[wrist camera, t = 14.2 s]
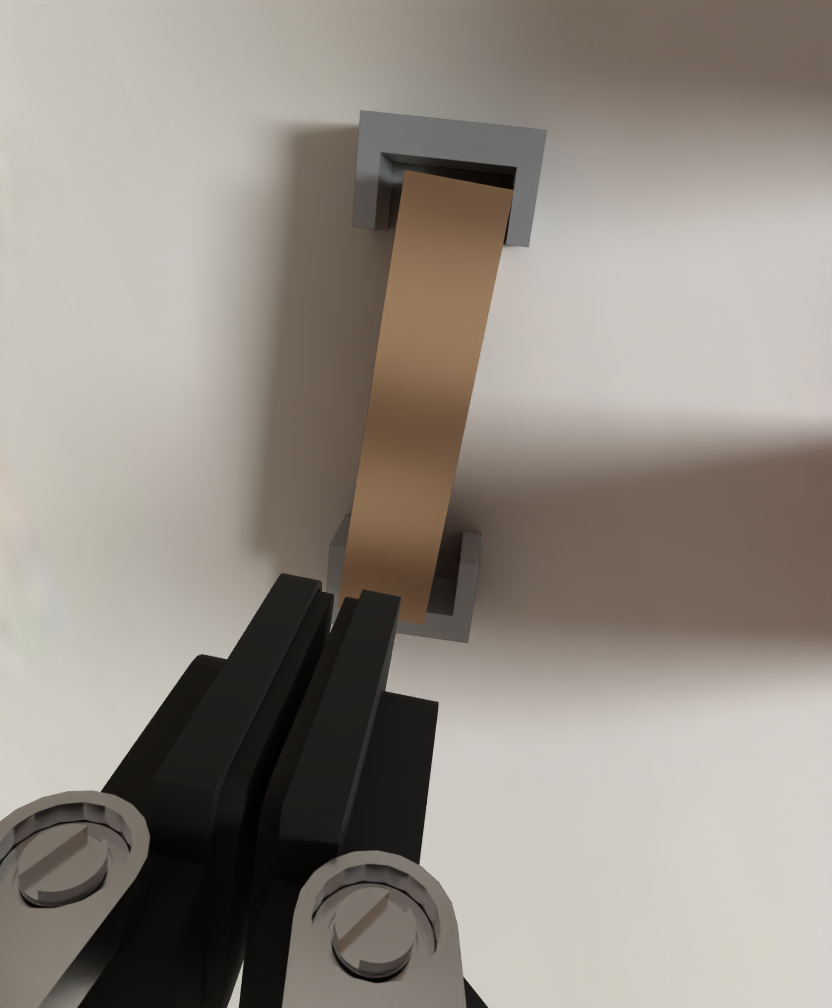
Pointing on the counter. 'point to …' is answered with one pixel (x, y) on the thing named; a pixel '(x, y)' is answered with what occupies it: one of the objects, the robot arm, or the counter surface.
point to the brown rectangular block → (422, 384)
